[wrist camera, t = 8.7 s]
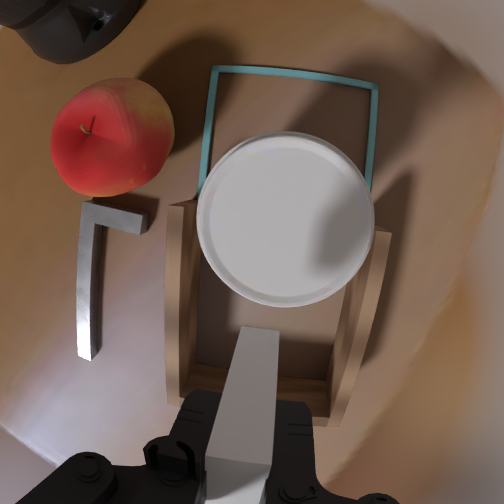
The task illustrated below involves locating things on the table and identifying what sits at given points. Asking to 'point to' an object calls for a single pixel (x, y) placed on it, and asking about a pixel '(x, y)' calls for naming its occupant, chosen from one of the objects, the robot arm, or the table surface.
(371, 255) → the cubby
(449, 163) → the table surface
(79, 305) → the crook tool
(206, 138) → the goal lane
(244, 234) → the coffee cup
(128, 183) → the apple
